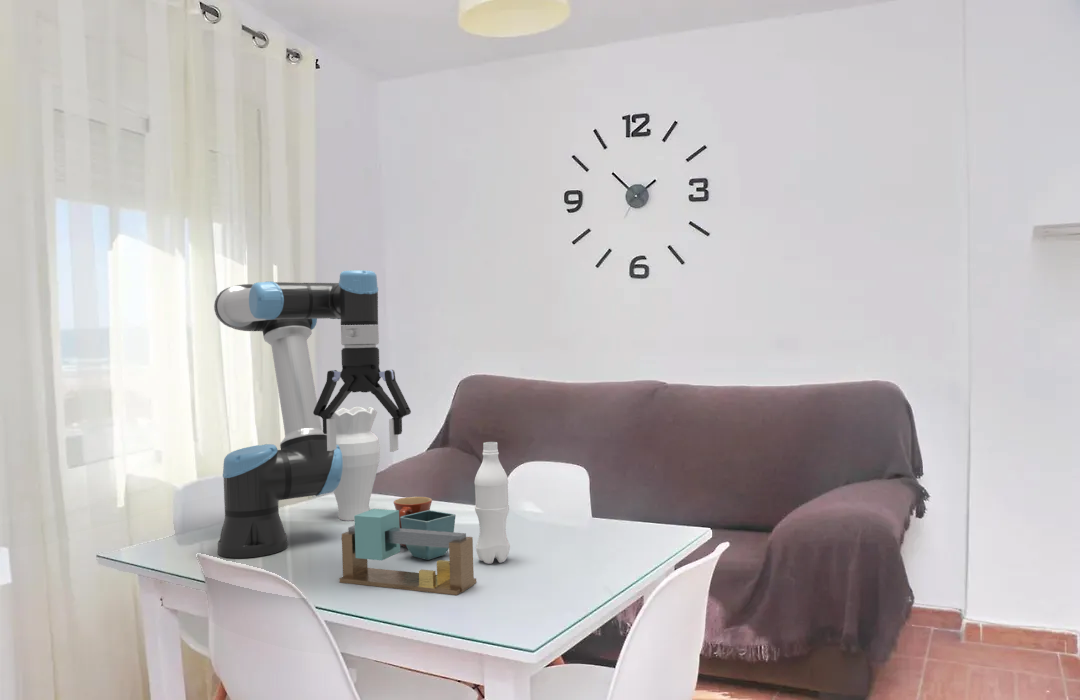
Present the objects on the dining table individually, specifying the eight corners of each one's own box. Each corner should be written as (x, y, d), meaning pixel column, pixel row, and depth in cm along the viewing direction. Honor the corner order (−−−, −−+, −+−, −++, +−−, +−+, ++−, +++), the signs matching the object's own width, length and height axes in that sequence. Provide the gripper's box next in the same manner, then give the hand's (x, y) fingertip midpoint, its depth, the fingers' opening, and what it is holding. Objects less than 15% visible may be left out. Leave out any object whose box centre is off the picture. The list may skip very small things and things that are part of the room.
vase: (324, 514, 225) (320, 408, 224) (378, 509, 229) (375, 405, 228) (327, 526, 211) (323, 412, 210) (385, 520, 215) (381, 409, 214)
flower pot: (430, 549, 185) (428, 509, 185) (457, 555, 180) (456, 514, 180) (400, 557, 179) (398, 516, 178) (428, 564, 173) (426, 521, 173)
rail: (338, 582, 162) (336, 530, 161) (362, 571, 169) (360, 521, 169) (457, 595, 152) (456, 540, 152) (477, 582, 159) (475, 530, 159)
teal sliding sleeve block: (355, 558, 161) (354, 515, 161) (374, 549, 167) (373, 508, 167) (381, 560, 159) (380, 517, 158) (400, 551, 165) (399, 510, 165)
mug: (403, 539, 194) (401, 496, 194) (438, 540, 193) (437, 496, 193) (383, 553, 183) (382, 507, 183) (420, 554, 181) (419, 507, 181)
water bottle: (480, 566, 170) (476, 446, 169) (473, 557, 177) (470, 441, 176) (513, 563, 172) (510, 443, 171) (506, 554, 179) (503, 439, 178)
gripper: (294, 347, 167) (297, 452, 167) (411, 346, 162) (414, 453, 162) (312, 346, 174) (315, 446, 175) (424, 345, 169) (426, 448, 170)
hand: (362, 450), depth 169 cm, fingers open, 13 cm apart
